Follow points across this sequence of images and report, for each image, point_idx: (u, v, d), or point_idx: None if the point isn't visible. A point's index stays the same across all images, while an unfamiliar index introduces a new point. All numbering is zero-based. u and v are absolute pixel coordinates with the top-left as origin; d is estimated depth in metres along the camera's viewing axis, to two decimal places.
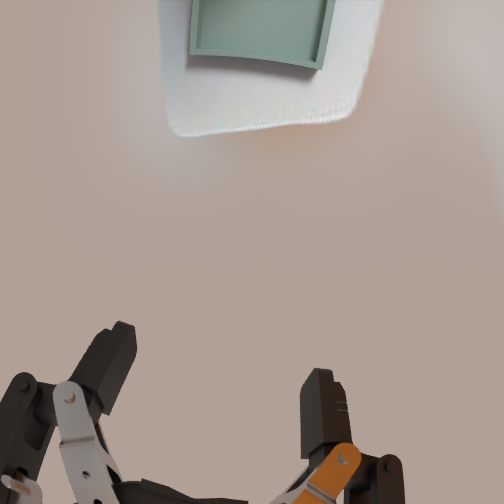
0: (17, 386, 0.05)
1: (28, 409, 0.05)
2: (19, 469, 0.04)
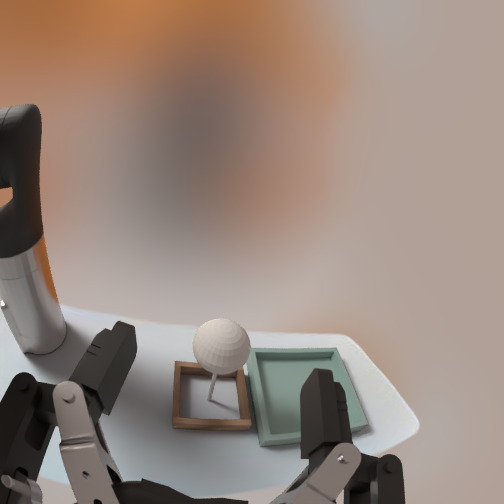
0: (17, 386, 0.05)
1: (28, 409, 0.05)
2: (19, 469, 0.04)
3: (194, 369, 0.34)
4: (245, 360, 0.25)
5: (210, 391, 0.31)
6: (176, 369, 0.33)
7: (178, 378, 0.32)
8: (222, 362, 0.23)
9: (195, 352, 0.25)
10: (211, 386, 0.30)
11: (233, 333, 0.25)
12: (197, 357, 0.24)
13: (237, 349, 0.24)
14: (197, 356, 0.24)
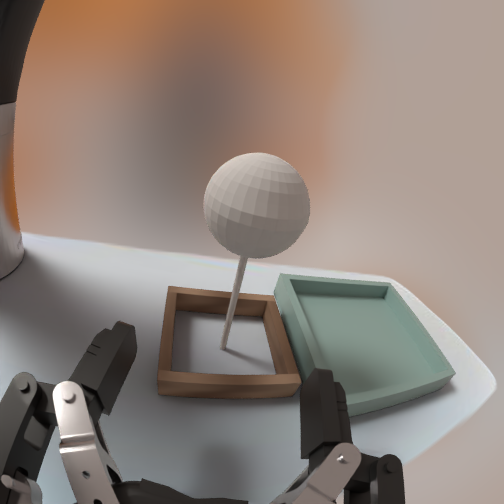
0: (17, 386, 0.05)
1: (29, 409, 0.05)
2: (19, 469, 0.04)
3: (198, 300, 0.23)
4: (306, 218, 0.14)
5: (226, 327, 0.19)
6: (169, 297, 0.22)
7: (172, 309, 0.20)
8: (267, 206, 0.12)
9: (210, 202, 0.13)
10: (229, 314, 0.19)
11: (283, 162, 0.13)
12: (213, 210, 0.13)
13: (294, 186, 0.13)
14: (213, 208, 0.13)
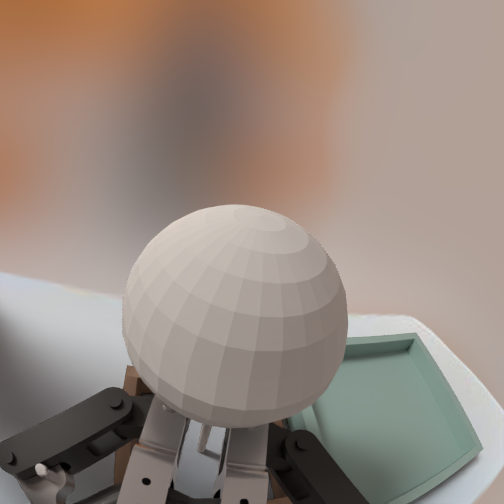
0: (106, 399, 0.07)
1: (108, 427, 0.06)
2: None
3: None
4: (338, 366, 0.06)
5: (202, 439, 0.11)
6: (127, 384, 0.14)
7: None
8: (248, 387, 0.04)
9: (125, 336, 0.05)
10: (204, 431, 0.11)
11: (296, 240, 0.05)
12: (132, 359, 0.05)
13: (322, 315, 0.05)
14: (130, 355, 0.05)
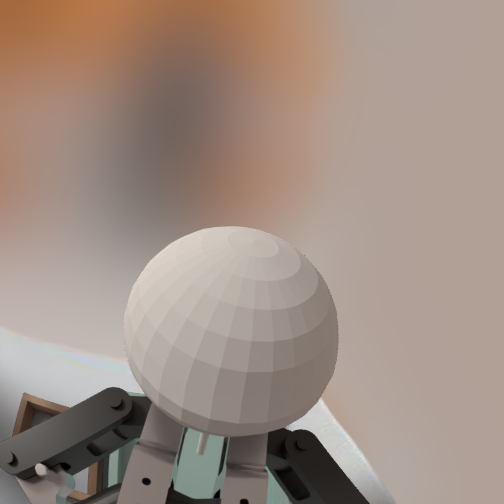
0: (106, 399, 0.07)
1: (108, 426, 0.06)
2: None
3: (44, 408, 0.17)
4: (328, 381, 0.06)
5: (201, 443, 0.12)
6: (22, 404, 0.16)
7: (21, 416, 0.14)
8: (241, 404, 0.04)
9: (127, 353, 0.06)
10: (203, 435, 0.11)
11: (288, 265, 0.06)
12: (134, 373, 0.05)
13: (311, 337, 0.05)
14: (132, 370, 0.05)
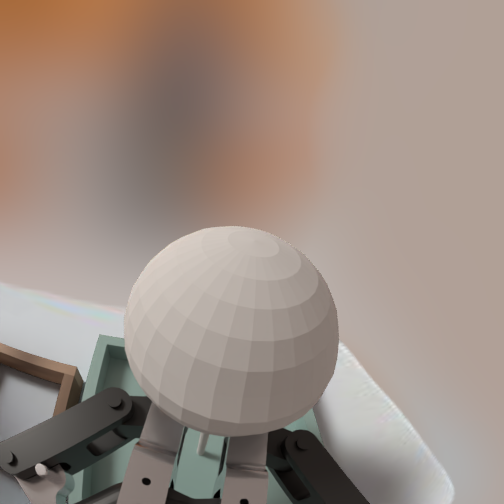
0: (106, 399, 0.07)
1: (108, 426, 0.06)
2: None
3: (6, 357, 0.13)
4: (328, 381, 0.06)
5: (201, 443, 0.12)
6: None
7: None
8: (241, 403, 0.04)
9: (127, 352, 0.06)
10: (203, 435, 0.11)
11: (288, 264, 0.06)
12: (134, 373, 0.05)
13: (311, 337, 0.05)
14: (132, 370, 0.05)
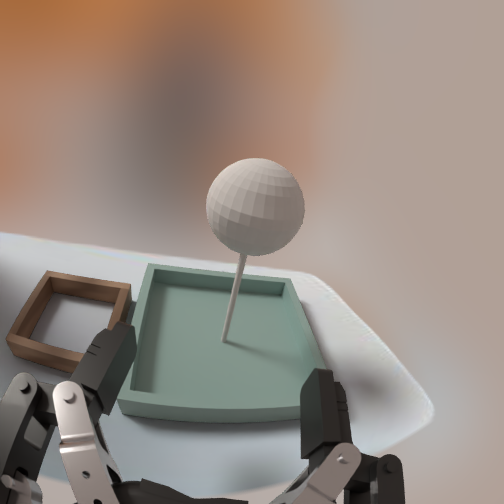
0: (17, 386, 0.05)
1: (29, 409, 0.05)
2: (19, 469, 0.04)
3: (66, 283, 0.22)
4: (300, 219, 0.15)
5: (227, 320, 0.21)
6: (43, 279, 0.20)
7: (39, 289, 0.19)
8: (263, 208, 0.13)
9: (212, 204, 0.15)
10: (229, 308, 0.20)
11: (279, 167, 0.15)
12: (215, 211, 0.14)
13: (289, 189, 0.14)
14: (215, 209, 0.14)
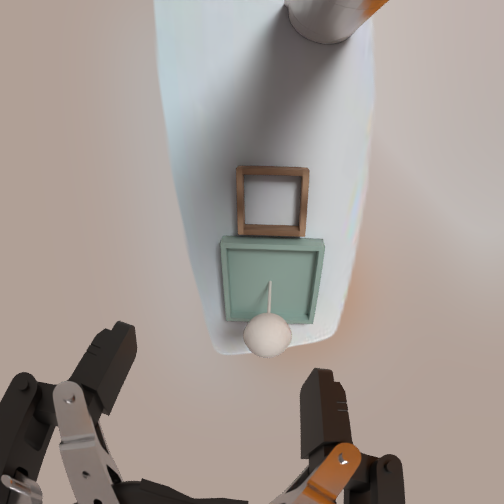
0: (17, 386, 0.05)
1: (28, 409, 0.05)
2: (19, 469, 0.04)
3: (302, 189, 0.36)
4: None
5: (268, 291, 0.42)
6: (298, 171, 0.34)
7: (287, 173, 0.34)
8: (244, 338, 0.33)
9: (258, 321, 0.32)
10: (268, 296, 0.41)
11: (261, 354, 0.32)
12: (254, 321, 0.33)
13: (251, 351, 0.33)
14: (254, 321, 0.32)
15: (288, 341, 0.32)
